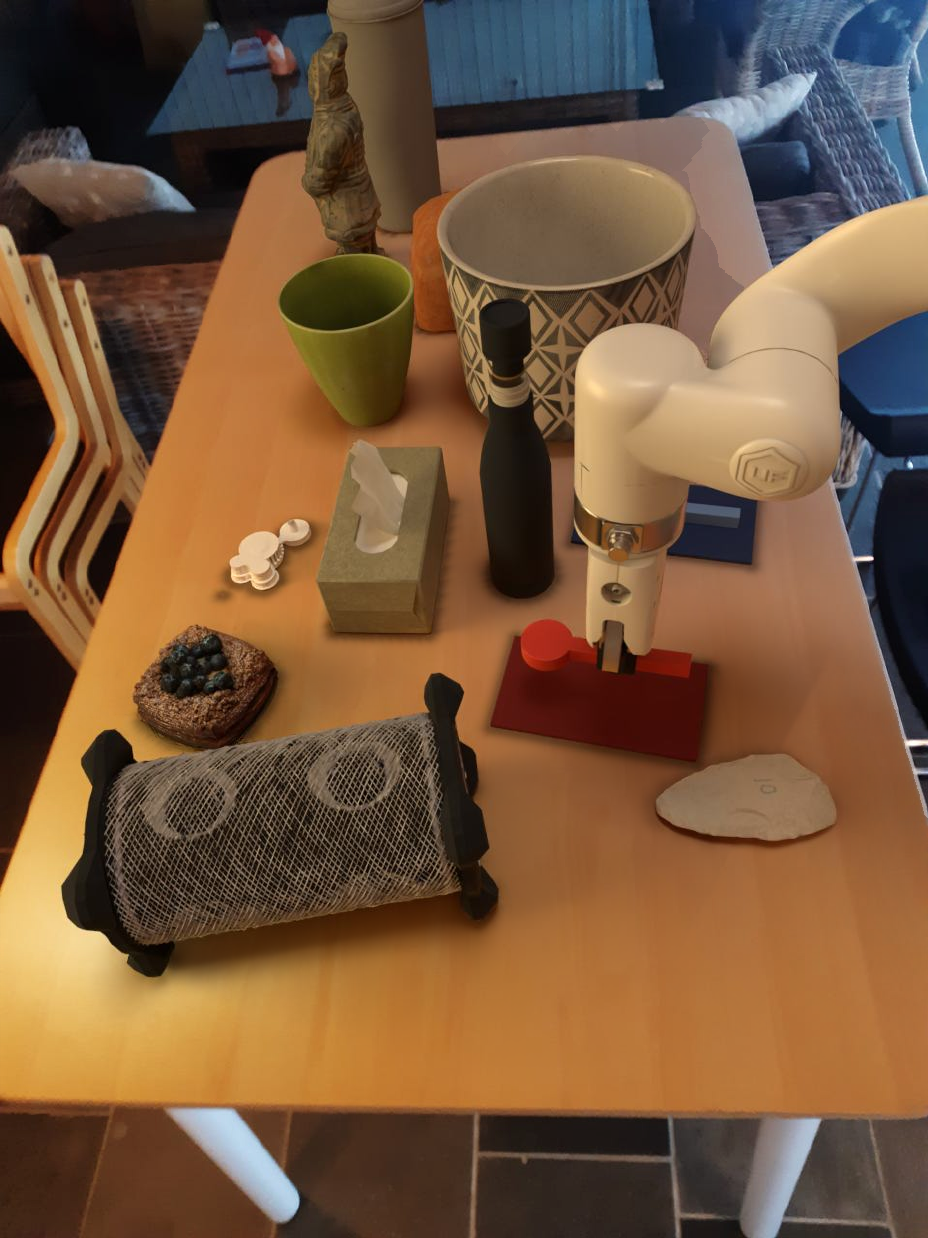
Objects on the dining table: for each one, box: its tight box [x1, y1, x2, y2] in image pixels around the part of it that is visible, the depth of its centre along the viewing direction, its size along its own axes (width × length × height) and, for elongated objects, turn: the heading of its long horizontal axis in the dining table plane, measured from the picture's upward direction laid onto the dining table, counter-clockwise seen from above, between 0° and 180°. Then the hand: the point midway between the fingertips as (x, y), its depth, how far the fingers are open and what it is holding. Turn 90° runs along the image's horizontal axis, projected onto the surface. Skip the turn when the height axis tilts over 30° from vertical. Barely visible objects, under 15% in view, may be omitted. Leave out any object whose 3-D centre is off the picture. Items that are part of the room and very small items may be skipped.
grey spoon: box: [684, 503, 741, 529], centre depth 91 cm, size 14×4×2 cm, turn 75°
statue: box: [301, 32, 387, 257], centre depth 116 cm, size 11×9×30 cm
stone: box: [655, 752, 837, 842], centre depth 71 cm, size 8×14×2 cm, turn 95°
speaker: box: [60, 672, 500, 978], centre depth 66 cm, size 15×28×15 cm, turn 98°
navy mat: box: [570, 484, 758, 566], centre depth 92 cm, size 18×10×1 cm, turn 75°
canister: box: [326, 0, 443, 233], centre depth 122 cm, size 13×13×35 cm
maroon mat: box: [489, 635, 709, 763], centre depth 79 cm, size 18×10×1 cm, turn 75°
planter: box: [437, 154, 698, 443], centre depth 97 cm, size 26×26×22 cm
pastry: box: [132, 623, 280, 752], centre depth 81 cm, size 11×12×6 cm
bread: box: [409, 186, 466, 333], centre depth 113 cm, size 14×33×16 cm, turn 94°
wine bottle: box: [478, 298, 555, 599], centre depth 77 cm, size 6×6×30 cm
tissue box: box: [315, 438, 451, 634], centre depth 86 cm, size 19×10×16 cm, turn 175°
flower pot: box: [277, 254, 415, 428], centre depth 102 cm, size 15×15×16 cm
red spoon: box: [521, 618, 693, 678], centre depth 74 cm, size 14×4×2 cm, turn 75°
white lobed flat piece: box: [219, 518, 312, 595], centre depth 93 cm, size 9×9×2 cm
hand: (617, 658), depth 74 cm, fingers closed on red spoon, 1 cm apart
